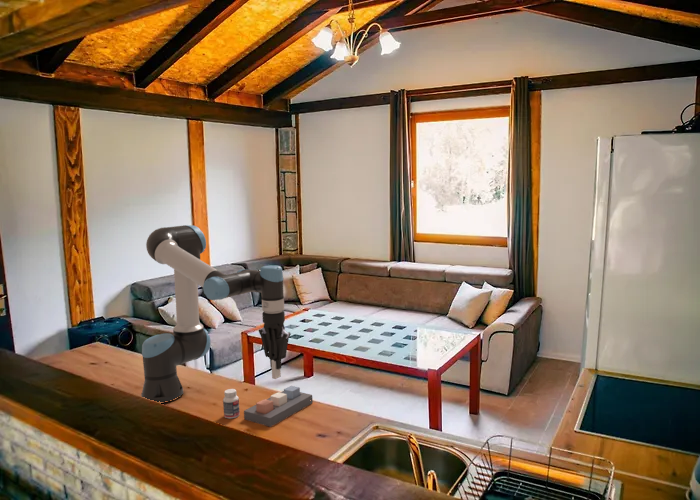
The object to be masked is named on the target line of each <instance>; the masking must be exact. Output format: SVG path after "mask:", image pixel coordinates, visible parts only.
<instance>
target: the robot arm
mask: <svg viewBox="0 0 700 500" xmlns="http://www.w3.org/2000/svg"><path fill="white" fill-rule="evenodd" d="M145 246H146V251H147V254H148V255H149V257H150V258H152V259H153V260H154V261H155V262H156V263H158V264H160V265H167V266H168V267H170V268H172V269H173V275H174V293H175V294H174V295H175V297H174V298H175V313H176V314H175V315H176V325H175V326H174V327H173V328H172V333H173V334H172V333H169V332H168V333H167V332H165V333H161V334H156V335H152V336H150V337H148V338H147V339H144V341H143V343H142V345H141V357H142V364H143V375H144V381H143V382H144V383H143V387H142V390H141V391H142V392H141V394H140V396H142V397H145V398H147V399H150V400H154V401H157V402H159V401H160V402H165V401H170V400H173V399H175V398H177V397H179V396H181V395H182V394H183V395H184V386H183V384H182V383H181V381H180V380H181V379H179V377H178V369H177V366H180V365H182V364H185V363H189V362H192V361H195V360H196V361H197V360H199V359H200V358H203V357H204V356H206V355H207V353H208V352H209V350H210V348H211V336H210V335H209V331H207V330H208V329H206V328H205V327H204V325H203V324H202V323H201V322H200V309H199V307H200V306H199V290H198V289H199V288H198V287H199V286H200V287H201V288H203V289H202V290H203V293H204V295H205V296H206V298H207V299H209V300H210V301H219V300H224V299H227V298H231V297H235V296H240V295H243V294H247V293H259V294H260V293H261V294H260V295H261V310H262V323H263V327H262V328H259V329H258V334H259V335H260V337H261V343H262V348H263V351H264V355H265V357H266V358H269V363H270V365H269V366H270V368H271V378H272V380H273V379H274V380H277V379H278V378H280V377H281V375H282V373H281V369H282V360H283V359H285V358H287V351H288V345H289V339H290V337H291V335H292V333H291V332H290V331H288V332H287V331H286V327H285V320H286V319H285V318H286V316H285V315H286V313H285V311H284V310H285V297H284V295H285V293H284V274H283V267H281V265H276V264H275V265H270V264H269V265H264V266H261V267H260V269H259V270H254V269H249V268H245V269H244V268H243V269H238V270H237V272H234V273H233V272H232V273H229V274H227V273H226V274H225V273H223V272H221V271H219V269H216V268H215V267H213V266H211V265H210V264H208V263H206V262H205V261H203V260H201V255H202V253H204V251H205V249H207V240H206V236H205V234H204V232H203V230H201V229H200V227H198V226H196V225H194V224H193V225H188V224H187V225H177V226H176V225H175V226H168V227H160V228H157V229H155V230H153V231H152V232H151V233H150V234H149V235H148V237H147V239H146V243H145ZM152 259H151V260H152Z"/></svg>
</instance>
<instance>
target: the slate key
mask: <svg viewBox="0 0 700 500" xmlns="http://www.w3.org/2000/svg"><path fill="white" fill-rule="evenodd" d="M300 389H301V388H300V387H299V386H295V385H290V386H287V387H285V388H284V389H283V391H284V394H287V398H289V399H295V398H297V397H298V396H300V392H301V390H300Z"/></svg>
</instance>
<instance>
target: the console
mask: <svg viewBox="0 0 700 500" xmlns="http://www.w3.org/2000/svg"><path fill="white" fill-rule="evenodd" d="M279 392H280V391H279ZM280 393H284V390H282V391H281V392H280ZM266 400H270V401H271V398H270V397H268V398H267V399H266ZM310 400H311V401H310ZM313 403H314V402H313V395H312V394H310V393H305V392H302V391H300V396H298V397H297V398H295V399H289V398H287V403H285V404H284V405H282V406H280V407H279V406H275V405H273V409H274V410H272V411H270V412H269V413H267V414H263V413H259V412H257V410H256V404H254V405H253V406H250V407H248V408H247V409H245V410H243V418H244V420H246V421H248V422H252V423H255V424H259V425H262V426H265V427H269V428H271V427H274V426H275V425H277V424H279V423H280V422H282V421H284V420H285V419H287V418H289V417H291V416H292V415H294V414H296V413H298V412H300V411H301V410H303V409H305V408H306V407H309V406H310V405H311V404H313Z"/></svg>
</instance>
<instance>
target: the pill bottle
mask: <svg viewBox="0 0 700 500" xmlns="http://www.w3.org/2000/svg"><path fill="white" fill-rule="evenodd" d="M239 399H240V398H239V396H238V395H237V390H236V389H235V388H228V389H225V390H224V397H223V399H222V405H223V416H224V418H225V419H228V420H230V419H236V418H238V417H240V400H239Z"/></svg>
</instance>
